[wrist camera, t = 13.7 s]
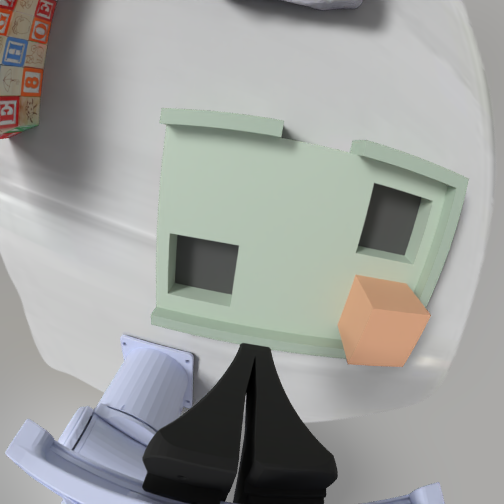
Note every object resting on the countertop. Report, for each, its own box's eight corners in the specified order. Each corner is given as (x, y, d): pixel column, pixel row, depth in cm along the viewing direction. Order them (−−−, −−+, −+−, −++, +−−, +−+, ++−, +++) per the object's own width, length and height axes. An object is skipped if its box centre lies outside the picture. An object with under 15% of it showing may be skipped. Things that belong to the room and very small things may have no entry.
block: (385, 330, 21) (402, 366, 16) (337, 324, 21) (347, 364, 16) (406, 283, 19) (430, 315, 15) (355, 274, 19) (373, 308, 15)
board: (387, 339, 23) (397, 361, 20) (164, 304, 24) (151, 324, 21) (446, 172, 17) (468, 178, 14) (178, 113, 18) (161, 108, 15)
